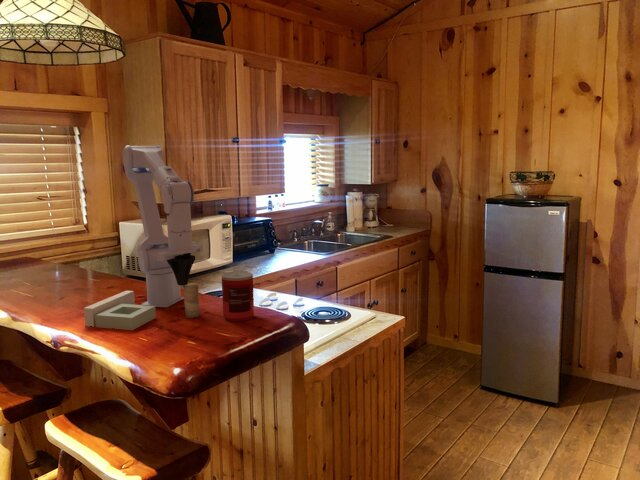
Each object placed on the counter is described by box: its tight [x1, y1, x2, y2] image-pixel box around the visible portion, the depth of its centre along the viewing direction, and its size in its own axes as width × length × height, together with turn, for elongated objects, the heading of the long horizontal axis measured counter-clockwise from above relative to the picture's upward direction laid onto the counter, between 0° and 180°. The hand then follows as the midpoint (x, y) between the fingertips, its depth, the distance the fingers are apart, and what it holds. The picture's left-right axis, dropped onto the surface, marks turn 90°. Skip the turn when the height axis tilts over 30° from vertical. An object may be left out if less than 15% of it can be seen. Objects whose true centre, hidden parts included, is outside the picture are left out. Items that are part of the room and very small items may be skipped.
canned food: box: [221, 270, 255, 322], centre depth 135 cm, size 8×8×11 cm
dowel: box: [182, 283, 201, 319], centre depth 137 cm, size 4×4×8 cm
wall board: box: [83, 290, 136, 328], centre depth 138 cm, size 17×2×4 cm, turn 165°
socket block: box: [95, 304, 157, 331], centre depth 133 cm, size 10×10×3 cm
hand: (182, 284), depth 135 cm, fingers closed
